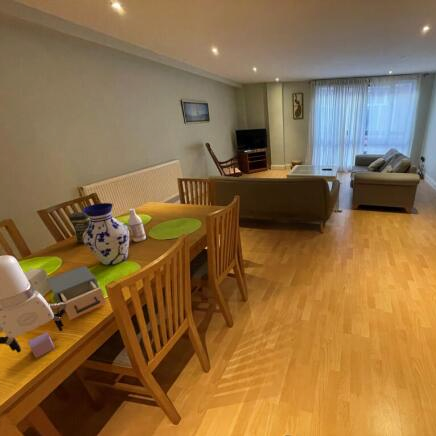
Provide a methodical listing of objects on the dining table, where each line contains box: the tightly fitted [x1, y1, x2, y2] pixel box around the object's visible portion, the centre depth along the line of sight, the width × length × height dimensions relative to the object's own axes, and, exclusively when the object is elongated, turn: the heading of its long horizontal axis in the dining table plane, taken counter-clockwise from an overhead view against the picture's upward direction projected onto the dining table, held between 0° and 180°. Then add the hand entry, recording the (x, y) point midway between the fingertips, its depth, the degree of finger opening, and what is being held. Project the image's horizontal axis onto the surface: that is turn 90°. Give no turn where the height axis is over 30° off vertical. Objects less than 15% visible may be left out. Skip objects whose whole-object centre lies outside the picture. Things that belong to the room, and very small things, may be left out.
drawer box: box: [47, 265, 100, 303], centre depth 100 cm, size 15×13×9 cm
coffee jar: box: [68, 211, 90, 244], centre depth 145 cm, size 10×8×19 cm
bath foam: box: [127, 208, 147, 243], centre depth 145 cm, size 7×7×20 cm
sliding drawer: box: [59, 281, 107, 321], centre depth 93 cm, size 18×11×7 cm, turn 52°
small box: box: [24, 268, 52, 298], centre depth 100 cm, size 8×6×10 cm
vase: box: [81, 202, 131, 266], centre depth 122 cm, size 19×19×30 cm
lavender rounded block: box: [28, 331, 55, 359], centre depth 77 cm, size 4×4×4 cm
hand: (40, 338), depth 76 cm, fingers open, 9 cm apart
